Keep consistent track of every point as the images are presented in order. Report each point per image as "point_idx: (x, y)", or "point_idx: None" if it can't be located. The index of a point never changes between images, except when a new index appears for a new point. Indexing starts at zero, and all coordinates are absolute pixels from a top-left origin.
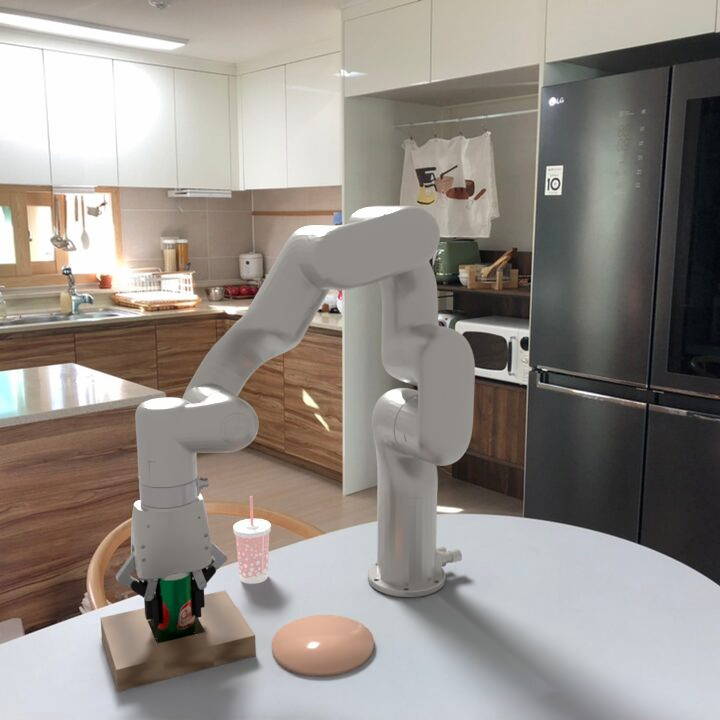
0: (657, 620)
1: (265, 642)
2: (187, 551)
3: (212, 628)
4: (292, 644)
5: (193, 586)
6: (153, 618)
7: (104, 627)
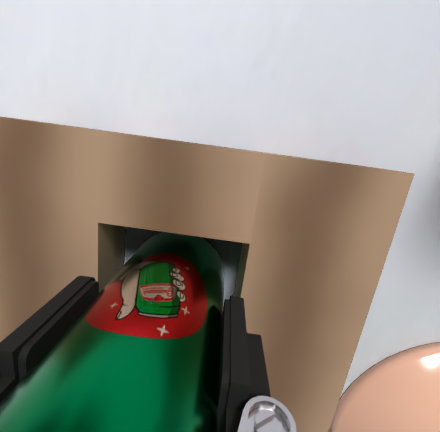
0: None
1: (354, 358)
2: None
3: None
4: (389, 420)
5: (222, 427)
6: None
7: None
